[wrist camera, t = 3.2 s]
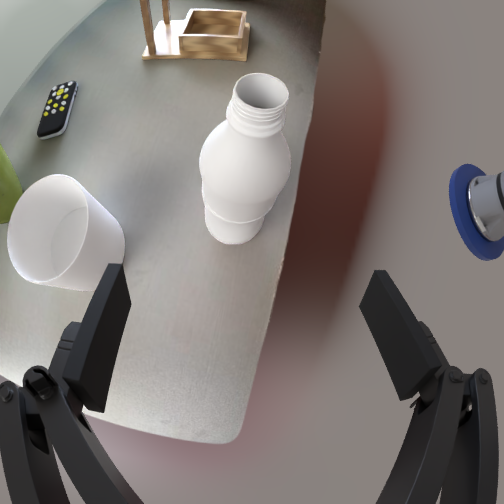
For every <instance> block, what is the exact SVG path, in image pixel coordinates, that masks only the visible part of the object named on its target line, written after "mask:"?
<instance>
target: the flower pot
mask: <svg viewBox="0 0 504 504" xmlns="http://www.w3.org/2000/svg"><path fill="white" fill-rule="evenodd" d="M22 194H23V190H22V187H21V184H20V182H19V180H18V177H17V175H16V173H15V171H14V168H13V166H12V164H11V162H10V160H9V158H8V157H7V155H6V153H5V151H4V149H3V147H2V146H1V144H0V224H3V223H7V222H9V221H10V218H11V215H12V212H13V210H14V208H15V206H16V204H17V202H18V200H19V199H20V197H21V196H22Z"/></svg>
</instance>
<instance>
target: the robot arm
mask: <svg viewBox="0 0 504 504" xmlns="http://www.w3.org/2000/svg"><path fill="white" fill-rule="evenodd" d="M466 203H467V208H468V212H469V215H470V218H471V221H472V223H473V225H474V227H475V229H476V230H477V232H478V233H479V235H480V236H481V237H482V238H483V239H484V240H486V241H487V242H494V241H498V240H500V239H501V238H502V237H503V236H504V171H503V172H502V173H500V174H497V175H487V176H477V177H475V178H473V179H471V180H470V181H469V182H468V184H467V187H466ZM359 307H360V310H361V312H362V314H363V316H364V318H365V320H366V322H367V324H368V327H369V329H370V331H371V333H372V335H373V338H374V339H375V342H376V344H377V346H378V349H379V351H380V353H381V356H382V358H383V360H384V363H385V365H386V367H387V370H388V372H389V374H390V377H391V379H392V382H393V384H394V386H395V389H396V392H397V394H398V396H399V399H400V401H402V400H406V399H409V398H412V397H413V396H414V395H415V394H416V393H417V392H418V391H419V393H420V397H419V398H417V400H415V401H414V402H413V403H412V404H411V406H410V408H412V407H413V406H414V405H415V404H416V406H415V408H414V413H413V416H412V419H411V422H410V425H409V428H408V431H407V434H406V436H405V439H404V442H403V445H402V447H401V450H400V452H399V455H398V457H397V460H396V462H395V464H394V467H393V469H392V471H391V474H390V476H389V478H388V480H387V482H386V485H385V486H384V488H383V490H382V493H381V494H380V496H379V498H378V500H377V502H376V504H436V501H437V499H438V496H439V493H440V490H441V488H442V491H441V498H440V504H496V498H497V487H498V466H499V465H498V464H499V450H498V448H499V447H498V427H497V416H496V405H495V398H494V391H493V385H492V379H491V376H490V374H489V373H488V372H487V371H486V370H485V369H482V368H479V369H477V370H476V371H475V372H474V373H473V374H463V373H462V371H461V370H460V369H459V368H457V367H455V366H450V365H449V363H448V361H447V359H446V358H445V356H444V354H443V352H442V351H441V349H440V347H439V345H438V344H437V342H436V340H435V338H434V337H433V335H432V333H431V331H430V329H429V328H428V327H427V326H426V325H425V324H424V323H423V322H422V321H419V322H418V321H417V319H416V317H415V316H414V314H413V312H412V311H411V309H410V307H409V306H408V304H407V302H406V301H405V299H404V298H403V296H402V295H401V293H400V291H399V290H398V288H397V287H396V285H395V284H394V282H393V281H392V279H391V278H390V276H389V275H388V273H387V272H386V271H385V270H375V271H374V273H373V275H372V278H371V280H370V282H369V285H368V287H367V289H366V292H365V294H364V296H363V299H362V301H361V303H360V305H359ZM130 308H131V300H130V296H129V291H128V287H127V283H126V278H125V274H124V269H123V264H116V263H108V265H107V267H106V269H105V271H104V274H103V276H102V278H101V280H100V282H99V284H98V286H97V288H96V290H95V293H94V295H93V297H92V299H91V301H90V304H89V306H88V308H87V311H86V313H85V315H84V318H83V320H82V322H81V323H79V322H71V323H70V324H69V325H68V326H67V327H66V328H65V329H64V331H63V334H62V336H61V340H60V341H59V343H58V346H57V348H56V351H55V353H54V356H53V359H52V361H51V364H50V367H49V369H48V370H47V369H46V368H45V367H43V366H34V367H31V368H30V369H28V370H27V372H26V373H25V374H24V377H23V387H19V388H18V387H17V386H16V385H15V384H14V383H13V382H11V381H5V382H3V383H1V384H0V451H1V457H2V463H3V468H4V472H5V477H6V482H7V486H8V490H9V494H10V498H11V501H12V504H70V502H69V500H68V497H67V494H66V491H65V488H64V485H63V482H62V479H61V476H60V472H59V469H58V465H57V462H56V459H55V454H54V451H53V447H54V449H55V451H56V453H57V455H58V457H59V459H60V461H61V463H62V465H63V467H64V468H65V470H66V472H67V474H68V475H69V477H70V479H71V481H72V483H73V484H74V486H75V488H76V489H77V491H78V492H79V494H80V496H81V497H82V499H83V500H84V501H85V503H86V504H144V503H143V502H142V501H141V499H140V498H139V497H138V496H137V494H136V493H135V492H134V491H133V490H132V488H131V487H130V486H129V484H128V483H127V482H126V480H125V479H124V478H123V476H122V475H121V473H120V472H119V471H118V469H117V468H116V466H115V465H114V463H113V462H112V461H111V459H110V458H109V456H108V454H107V453H106V451H105V450H104V448H103V447H102V445H101V444H100V442H99V440H98V438H97V437H96V435H95V433H94V432H93V430H92V428H91V426H90V425H89V423H88V421H87V419H86V417H85V415H84V414H83V412H82V408H83V404H84V406H85V407H86V408H87V409H88V410H91V411H96V412H101V413H104V411H105V405H106V401H107V396H108V391H109V386H110V382H111V378H112V373H113V369H114V365H115V361H116V357H117V353H118V349H119V346H120V342H121V338H122V335H123V331H124V328H125V324H126V321H127V317H128V314H129V311H130ZM471 404H472V410H471V411H469V406H470V405H471ZM52 445H53V446H52Z"/></svg>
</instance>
